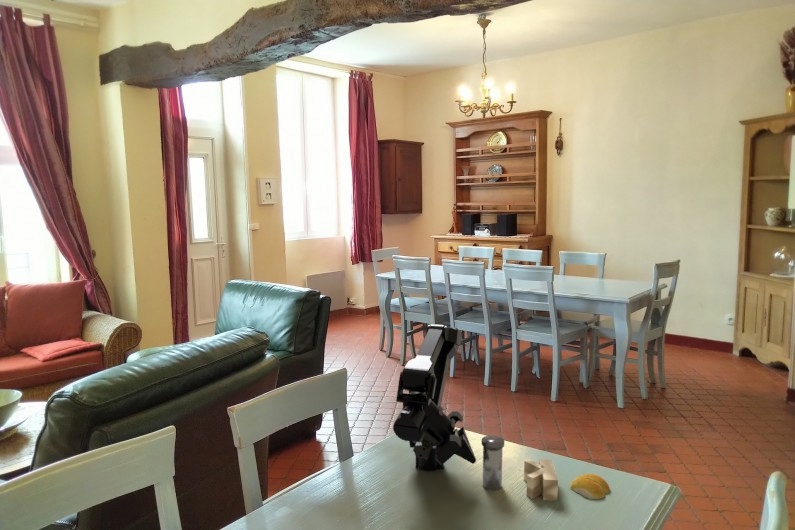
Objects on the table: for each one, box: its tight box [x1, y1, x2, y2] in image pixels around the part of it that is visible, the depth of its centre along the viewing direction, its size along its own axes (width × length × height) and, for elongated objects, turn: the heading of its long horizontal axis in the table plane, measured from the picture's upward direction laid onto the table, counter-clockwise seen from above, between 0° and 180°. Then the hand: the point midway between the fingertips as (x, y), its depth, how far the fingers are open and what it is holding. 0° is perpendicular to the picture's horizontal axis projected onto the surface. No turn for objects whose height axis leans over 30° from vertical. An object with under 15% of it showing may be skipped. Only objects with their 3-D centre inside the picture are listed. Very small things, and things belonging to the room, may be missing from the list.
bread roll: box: [569, 473, 611, 500], centre depth 132 cm, size 8×9×4 cm
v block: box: [523, 458, 559, 502], centre depth 131 cm, size 6×10×5 cm, turn 172°
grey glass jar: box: [481, 435, 505, 491], centre depth 132 cm, size 5×5×11 cm
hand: (474, 461), depth 133 cm, fingers closed
